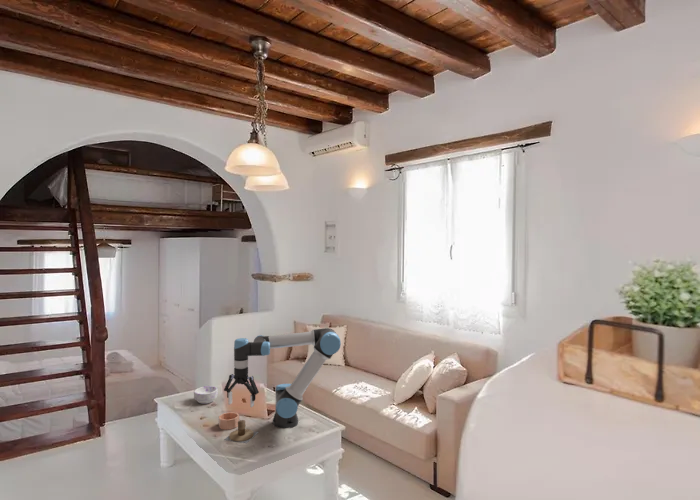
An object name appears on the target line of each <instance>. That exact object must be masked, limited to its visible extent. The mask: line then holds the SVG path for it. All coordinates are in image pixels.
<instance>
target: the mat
mask: <svg viewBox="0 0 700 500" xmlns="http://www.w3.org/2000/svg"><path fill="white" fill-rule="evenodd" d="M235 430H238V428H235ZM252 431H253V432H254V436H253V437H252V438H251V439H249V440H246V441H233V440H231V439H230V438H229V435H228V436H226V437H225V438H224V439H223V441H228V442H234V443H240V444H248V443H249V442H250V441H251V440H252V439H253V438H254V437H255V436H256V435H258V434H259V432H260V431H254V430H252Z"/></svg>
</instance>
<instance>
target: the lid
mask: <svg viewBox="0 0 700 500" xmlns="http://www.w3.org/2000/svg"><path fill="white" fill-rule="evenodd" d="M237 429H238V430H236V429H234V430H233V431H232V432H230V434H229V435H228V436H229V438H230V439H231V440H233V441H246V440H249V439H251V438H252V437H253V436H254V432H253V431H254V430H252V429H250V428H249V429H248V428H246V420H244V419H239V421H238V427H237ZM254 437H255V436H254ZM254 437H253V438H254ZM253 438H252V439H253ZM252 439H251V440H252ZM233 441H232V442H233Z"/></svg>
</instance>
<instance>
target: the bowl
mask: <svg viewBox="0 0 700 500" xmlns="http://www.w3.org/2000/svg"><path fill="white" fill-rule="evenodd" d="M238 421H240V414H239V413H238V412H233V411H229V412H225V413H221V414H220V415H219V416H218V427H219V429H221V430H226V431H227V430H235V429H237V428H238Z"/></svg>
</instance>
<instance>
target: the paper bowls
mask: <svg viewBox="0 0 700 500" xmlns="http://www.w3.org/2000/svg"><path fill="white" fill-rule="evenodd" d="M217 397H218V387H217V386H213V385H206V386H201V387H198V388H195V390H194V391H193V399H194V401H197V402H198V403H199V404H201V405H202V404H203V405H204V404H205V405H206V404H210V403H213V402H214V400H215V399H216V398H217Z"/></svg>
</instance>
